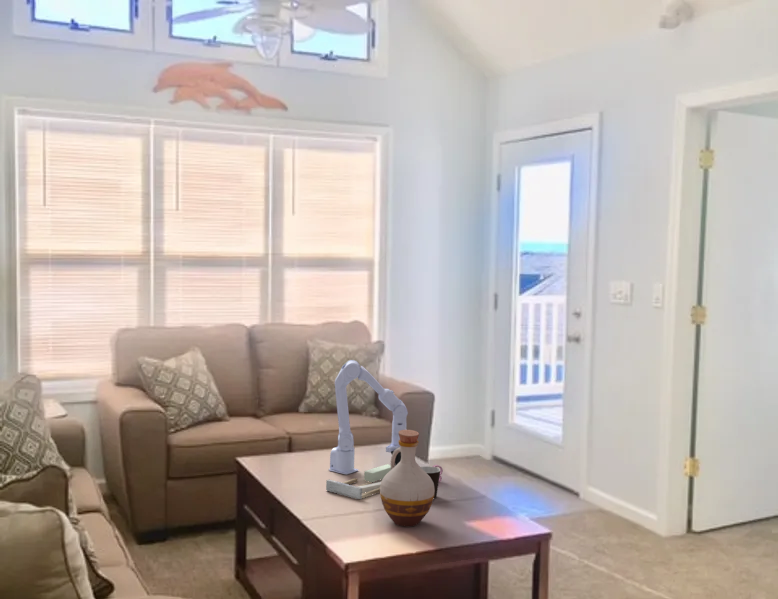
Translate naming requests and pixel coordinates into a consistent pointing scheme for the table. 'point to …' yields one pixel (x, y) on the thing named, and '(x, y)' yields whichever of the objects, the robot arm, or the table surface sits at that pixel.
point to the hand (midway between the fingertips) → (398, 466)
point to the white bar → (370, 487)
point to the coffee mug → (433, 476)
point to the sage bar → (376, 473)
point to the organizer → (349, 488)
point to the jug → (407, 485)
